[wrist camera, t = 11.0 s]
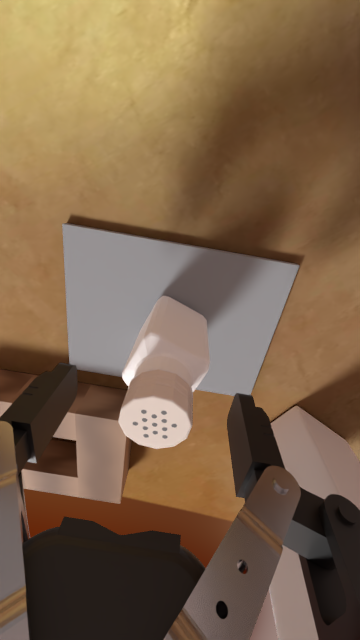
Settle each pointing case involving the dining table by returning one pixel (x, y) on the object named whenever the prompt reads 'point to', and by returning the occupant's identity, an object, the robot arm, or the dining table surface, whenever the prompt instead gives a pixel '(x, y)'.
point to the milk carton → (317, 478)
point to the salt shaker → (164, 375)
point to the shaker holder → (78, 443)
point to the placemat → (181, 285)
